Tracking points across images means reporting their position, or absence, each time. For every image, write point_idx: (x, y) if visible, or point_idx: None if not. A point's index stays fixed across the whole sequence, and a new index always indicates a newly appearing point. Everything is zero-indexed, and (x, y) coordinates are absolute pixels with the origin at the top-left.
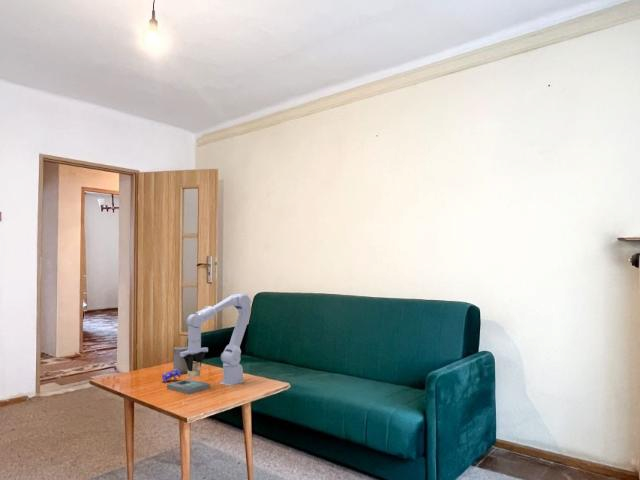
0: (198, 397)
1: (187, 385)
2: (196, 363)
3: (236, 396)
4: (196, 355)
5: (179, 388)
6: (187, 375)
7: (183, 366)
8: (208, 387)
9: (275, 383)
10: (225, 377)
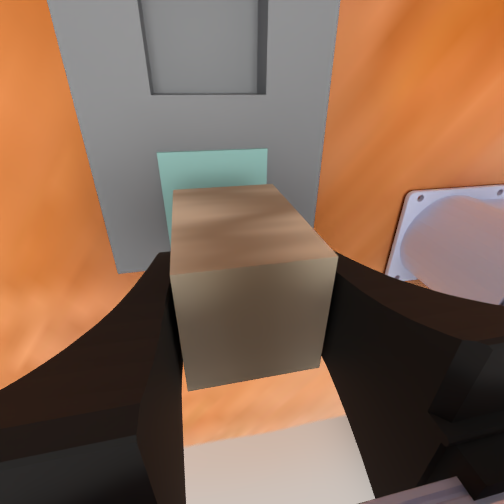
0: None
1: (166, 179)
2: (252, 376)
3: (272, 400)
4: (407, 385)
5: (91, 155)
6: (173, 191)
7: None
8: None
9: None
10: (428, 266)
